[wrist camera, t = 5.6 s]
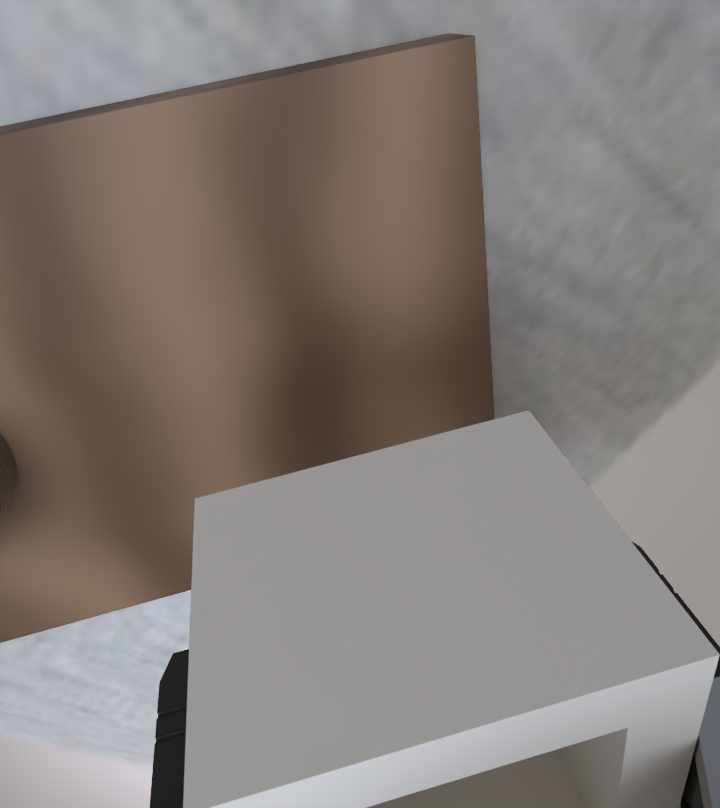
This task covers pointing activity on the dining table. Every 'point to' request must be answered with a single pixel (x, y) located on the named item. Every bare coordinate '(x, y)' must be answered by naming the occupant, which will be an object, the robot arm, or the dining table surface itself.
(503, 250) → the dining table surface
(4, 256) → the pipe stand
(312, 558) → the collar
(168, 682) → the robot arm
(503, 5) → the dining table surface
